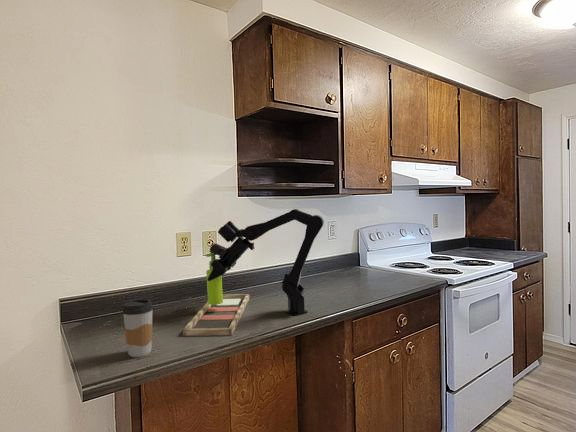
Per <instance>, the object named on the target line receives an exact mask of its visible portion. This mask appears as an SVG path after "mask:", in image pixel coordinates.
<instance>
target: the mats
mask: <svg viewBox="0 0 576 432" xmlns="http://www.w3.org/2000/svg"><path fill="white" fill-rule="evenodd" d="M239 308H240V306H233V307H232V306H226V307H225V306H216V307H214V306H213V307H210V308H209V309H208V310H207V311H206V313H222V312H224V313H227V312H230V313H232V312H235V313H237V311H238V310H239ZM235 315H236V314H210V315H209V314H207V315H206V314H204V315H203V316H202V317H201V319H200V320H199V321H233V319H234V317H235Z"/></svg>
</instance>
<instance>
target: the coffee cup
mask: <svg viewBox="0 0 576 432" xmlns="http://www.w3.org/2000/svg"><path fill="white" fill-rule="evenodd" d="M153 305H154V304H153V303H152V301H151V300H150V299H146V298H145V299H144V298H143V299H142V298H140V299H134V300H129V301H127V302H124V304H123V307H122V312H121V313H122V314H123V323H124V334H125V335H124V336H125V342H126V348H127V354H128V356H129V357H130V358H141V357H145V356H148V355H149V354H150V353H151V351H152V345H153V343H152V342H153V310H154V306H153Z"/></svg>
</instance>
